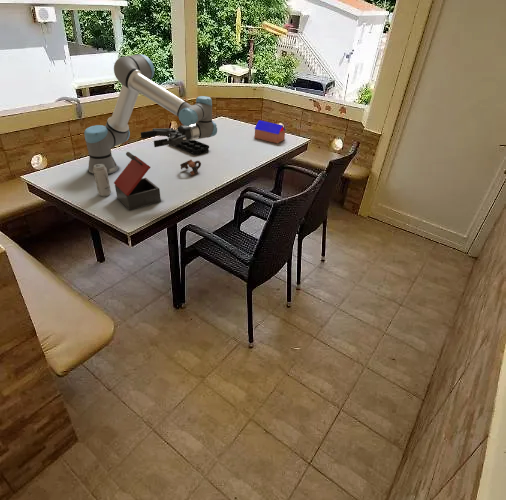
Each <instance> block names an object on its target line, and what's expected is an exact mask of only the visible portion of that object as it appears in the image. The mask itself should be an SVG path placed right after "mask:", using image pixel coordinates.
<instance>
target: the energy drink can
mask: <svg viewBox="0 0 506 500" xmlns="http://www.w3.org/2000/svg"><path fill="white" fill-rule="evenodd" d="M93 172H94V174H93V177H94V180H95V186H96V189H97V194H98V195H99V196H100V197H109V196H110V195H111V193H112V190H111V185H110V180H109V179H110V178H109V174H107V169H106V167H105V166H104V164H96V165H94V168H93Z"/></svg>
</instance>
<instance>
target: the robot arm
mask: <svg viewBox="0 0 506 500" xmlns="http://www.w3.org/2000/svg"><path fill="white" fill-rule="evenodd" d="M154 66H155V65H154V63H153V62H152V60H151V59H150V58H149V57H148V56H147V55H145V54H141V53H140V54H139V53H135V54H132V55H126V56H121V57H119V58H117V59H116V60H115V62H114V65H113V73H114V76H115V78H116V80H117V81H118V82H119V83H120V84H121V85H122V86H121V88H120V90H119V94H118V97H117V100H116V103H115V106H114V109H113V112H112V114H111V116H110V117H108V118H107V120H106V123H105V125H101V124H95V125H91V126H88V127H86V129H85V130H84V132H83V134H84V140H85V144H86V149H87V152H88V159H89V160H88V166H87V169H88V172H89V174H91V175H94V172H93V168H94V165H96V164H104V166H105V167H106V169H107V174H108V175H111V174H114V173H115V172H117V171H118V165H117V162H116V160H115V159H114V156H113V154H112V150H111V149H112V148H115V147H118V146H120V145H122V144H125V143H126V142H128V141H129V139H130V136H131V132H130V125H129V121H130V119H131V115H132V113H133V111H134V107H135V105H136V102H137V100H138V97H139V94H141V95H142V96H144V97H145V98H147V99H149V100H150V101H152V102H154V103H156V104H157V105H159V106H160V107H162V108H163V109H165V110H167V111H168V112H170V113H172V114H173V115H174V116H176V117H178V119H179V122H180V123H181V124H182V125H179V126H178V127H177V129H174V128H173V127H170V128H152V130H145V131H141V132H140V138H141V139H148V138H155V137H156V136H157V137H167V138H162V139H157V140H153V147H154V148H159V147H164V146H172V147H176V146H175V145H177V144H179V143H181V142H185V141H190V140H193V141H194V140H196V141H197V140H201V139H206V138H213V137H215V136H216V135H217V133H218V127H217V123H216V122H215V121H214V120H213V100H212V98H211V97H210V96H207V95H200V96H197V97H196V99H195V104H190V103H188V102H187V101H185V100H183V99H182V98H180V97H178V96H177V95H176V94H174V93H172V92H171V91H169V90H167V89H166V88H164V87H162V86H161V85H160V84H157V83H156V82H155V81H153V80H152V79H153V77H154V76H155V67H154Z"/></svg>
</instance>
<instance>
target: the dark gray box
mask: <svg viewBox="0 0 506 500" xmlns="http://www.w3.org/2000/svg"><path fill="white" fill-rule="evenodd" d="M114 188H115V194H116V198H117V200H119V201H120V202H121V203H122V204H123V205H124V206H125V207H126V208H127V210H128V211H132V210H135V209H139V208H142V207H147V206H149V205H154V204H156V203H161V202H162V199H161V198H162V197H161V191H160V190H161V189H160V187H158V186H157V185H156V184H155V183H153V182H152V181H151V180H150V179H148V178H147V177H143V178H142V179H141V180H140V181H139V183H138V184H137V185H136V187H135V188H134V189H133V190H132V192H131V193H130V194H129V196H127V195H126V194H125V193H124V192H123V191H121V190H120V189H119V188H118V187H117V186H116V185H115V184H114Z"/></svg>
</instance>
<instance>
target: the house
mask: <svg viewBox="0 0 506 500" xmlns="http://www.w3.org/2000/svg"><path fill="white" fill-rule="evenodd" d="M286 131H287V130H286V128H285V127H284V125H283V124H279V123H274V122H269V121H266V120H261V119H259V120H258V121H257V123H256V125H255V127H254V139H257V140H262V141H266V142H269V143H274V144H280V143H281V142H283V141H284V140H285V139H286V138H285V137H286Z"/></svg>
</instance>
